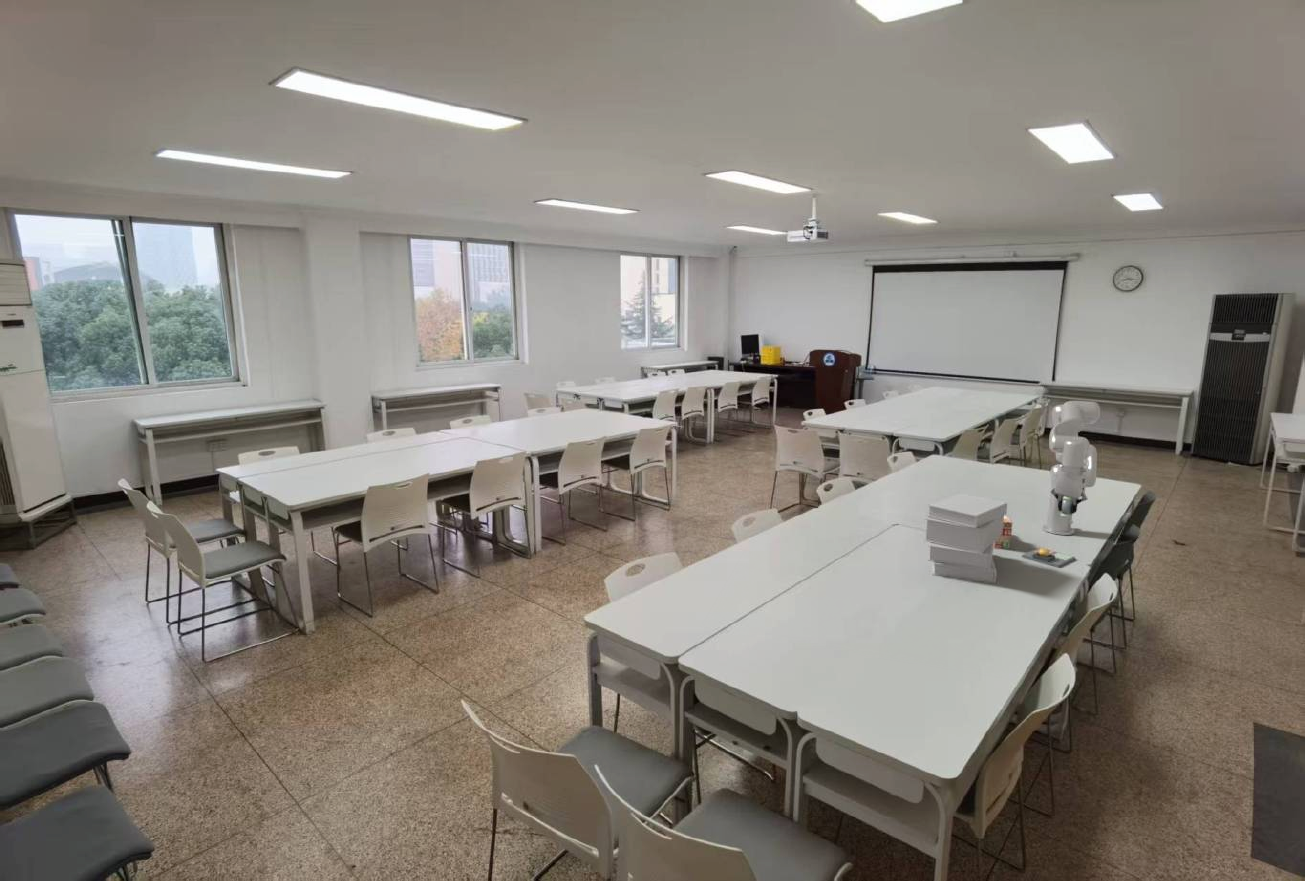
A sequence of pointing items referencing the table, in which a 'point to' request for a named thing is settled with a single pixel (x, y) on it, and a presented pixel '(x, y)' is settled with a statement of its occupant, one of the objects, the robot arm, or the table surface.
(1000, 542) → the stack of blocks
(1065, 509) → the green grey cylinder
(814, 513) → the table surface
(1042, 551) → the button
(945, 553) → the book stack
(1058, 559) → the board
